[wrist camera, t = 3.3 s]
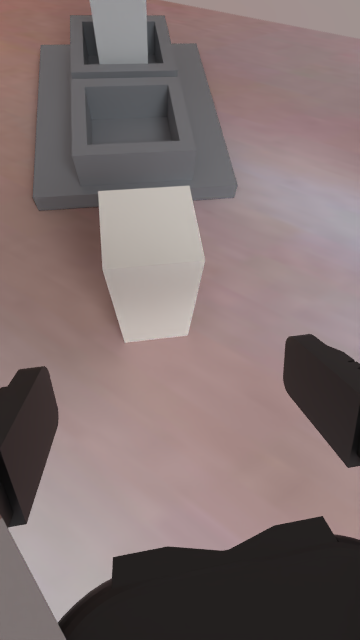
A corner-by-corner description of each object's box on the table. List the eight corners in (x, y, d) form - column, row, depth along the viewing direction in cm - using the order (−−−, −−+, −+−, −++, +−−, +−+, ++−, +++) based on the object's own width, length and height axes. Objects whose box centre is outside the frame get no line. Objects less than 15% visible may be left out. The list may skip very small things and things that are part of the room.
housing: (194, 58, 39) (208, -90, 28) (233, 197, 30) (274, 56, 19) (45, 60, 37) (-1, -99, 26) (39, 210, 28) (-35, 61, 17)
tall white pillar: (178, 281, 26) (189, 185, 17) (187, 335, 24) (205, 260, 15) (120, 287, 25) (98, 191, 16) (124, 342, 23) (102, 269, 14)
